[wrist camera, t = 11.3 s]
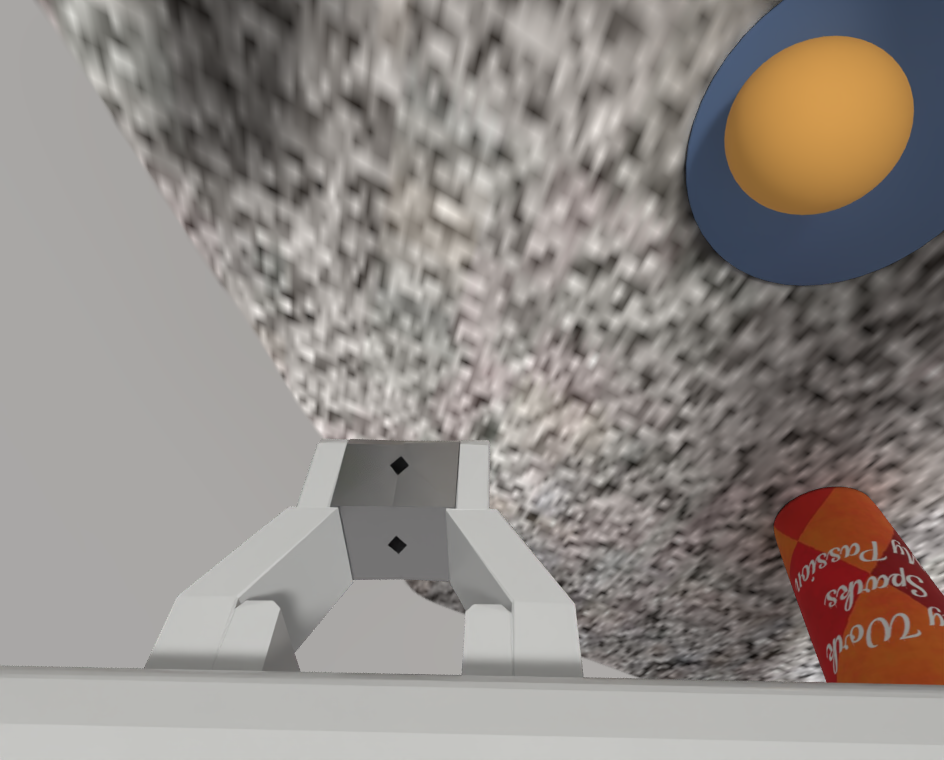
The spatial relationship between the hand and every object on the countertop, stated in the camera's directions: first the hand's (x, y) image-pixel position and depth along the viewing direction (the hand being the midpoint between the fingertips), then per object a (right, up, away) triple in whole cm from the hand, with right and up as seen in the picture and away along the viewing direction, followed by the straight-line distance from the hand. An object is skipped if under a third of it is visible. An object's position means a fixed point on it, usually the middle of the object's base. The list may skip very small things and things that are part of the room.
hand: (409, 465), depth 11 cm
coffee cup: (+23, -7, +28) cm, 37 cm away
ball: (+13, +11, +12) cm, 21 cm away
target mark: (+17, +11, +15) cm, 25 cm away
